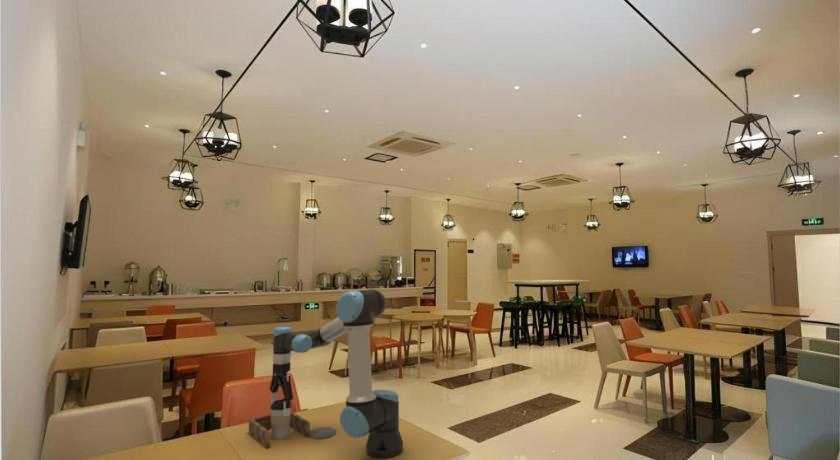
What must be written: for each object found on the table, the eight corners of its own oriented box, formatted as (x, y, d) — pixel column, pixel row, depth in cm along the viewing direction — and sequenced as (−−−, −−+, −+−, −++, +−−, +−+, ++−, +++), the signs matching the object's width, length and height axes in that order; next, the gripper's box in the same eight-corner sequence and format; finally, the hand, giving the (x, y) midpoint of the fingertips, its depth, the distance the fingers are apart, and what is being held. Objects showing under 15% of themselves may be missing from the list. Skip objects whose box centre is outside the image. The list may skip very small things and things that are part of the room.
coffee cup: (284, 440, 182) (285, 404, 183) (265, 439, 184) (266, 403, 185) (294, 432, 191) (295, 398, 192) (276, 431, 193) (277, 397, 194)
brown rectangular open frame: (309, 436, 187) (309, 422, 187) (266, 448, 174) (267, 433, 175) (289, 422, 203) (289, 409, 203) (248, 433, 191) (248, 419, 191)
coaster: (340, 434, 189) (340, 432, 189) (316, 441, 181) (316, 440, 181) (327, 426, 198) (327, 425, 198) (303, 433, 190) (303, 431, 190)
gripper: (301, 366, 183) (300, 417, 181) (278, 356, 202) (277, 402, 200) (285, 369, 178) (283, 421, 176) (263, 358, 197) (261, 405, 195)
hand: (280, 411), depth 188 cm, fingers open, 13 cm apart
